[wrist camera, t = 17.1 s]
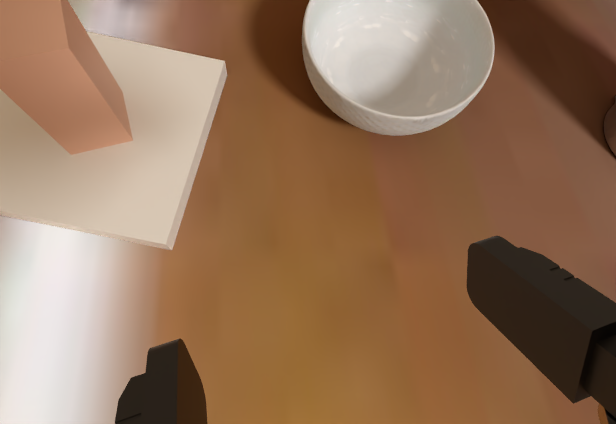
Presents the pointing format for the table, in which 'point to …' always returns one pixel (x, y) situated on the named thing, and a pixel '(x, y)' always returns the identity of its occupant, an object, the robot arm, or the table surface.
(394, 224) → the table surface
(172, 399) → the robot arm
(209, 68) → the off-white board
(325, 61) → the cereal bowl
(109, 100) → the terracotta block
